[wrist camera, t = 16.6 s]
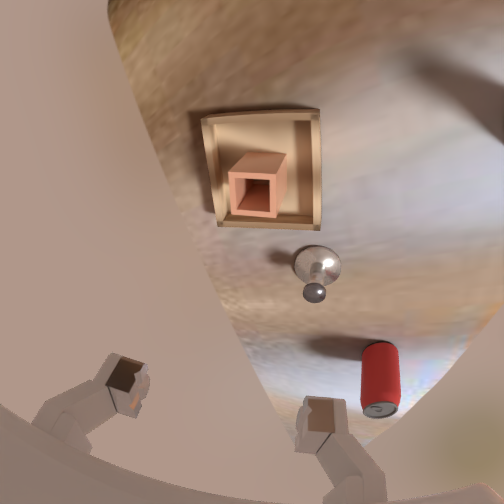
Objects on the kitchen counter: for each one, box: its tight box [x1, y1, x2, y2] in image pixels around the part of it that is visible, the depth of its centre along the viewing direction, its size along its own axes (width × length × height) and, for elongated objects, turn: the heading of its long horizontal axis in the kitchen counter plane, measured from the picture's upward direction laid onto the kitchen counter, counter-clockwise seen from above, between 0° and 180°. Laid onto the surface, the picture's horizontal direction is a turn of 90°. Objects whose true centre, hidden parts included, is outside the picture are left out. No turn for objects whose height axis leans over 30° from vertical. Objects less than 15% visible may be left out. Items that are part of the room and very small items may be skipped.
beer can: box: [360, 342, 401, 419], centre depth 44 cm, size 7×7×12 cm
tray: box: [201, 109, 322, 231], centre depth 34 cm, size 14×13×3 cm
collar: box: [228, 152, 287, 218], centre depth 32 cm, size 5×5×7 cm
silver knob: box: [294, 246, 341, 303], centre depth 39 cm, size 6×6×6 cm
